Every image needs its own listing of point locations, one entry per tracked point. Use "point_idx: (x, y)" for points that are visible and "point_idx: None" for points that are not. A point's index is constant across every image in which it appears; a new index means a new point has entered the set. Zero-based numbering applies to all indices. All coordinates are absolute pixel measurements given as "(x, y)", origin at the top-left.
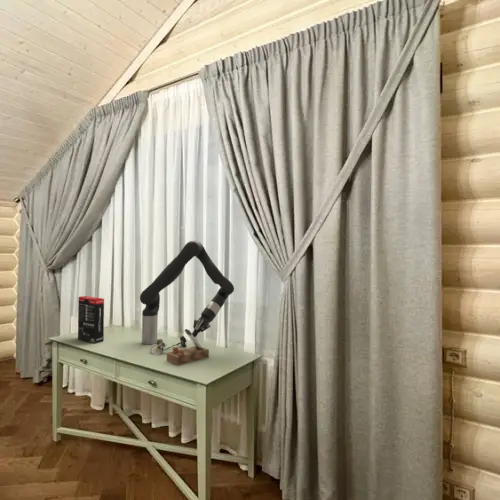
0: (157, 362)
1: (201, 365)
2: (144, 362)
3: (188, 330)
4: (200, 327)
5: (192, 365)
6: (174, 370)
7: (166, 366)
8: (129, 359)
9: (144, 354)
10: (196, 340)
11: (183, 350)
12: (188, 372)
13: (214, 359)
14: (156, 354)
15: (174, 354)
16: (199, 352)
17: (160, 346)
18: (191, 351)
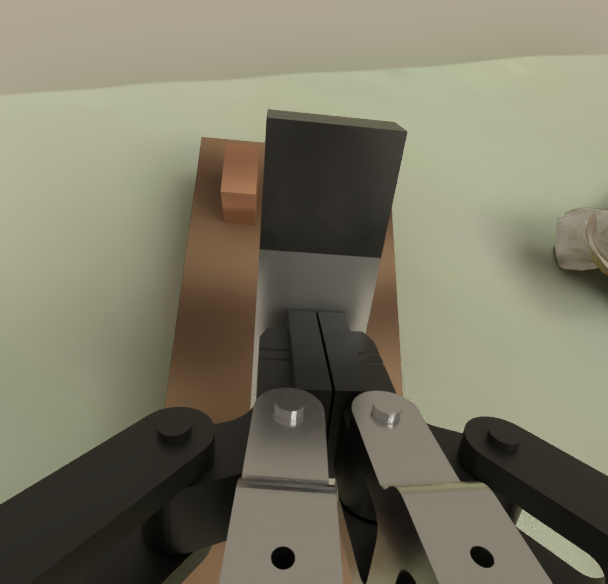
0: None
1: (29, 316)
2: (430, 85)
3: (272, 114)
4: (175, 466)
5: (103, 261)
6: (134, 112)
7: (250, 125)
8: (544, 63)
9: (603, 171)
10: (251, 404)
11: (222, 191)
12: (9, 147)
13: None
14: (558, 227)
15: None
16: (167, 407)
17: (594, 211)
18: (253, 344)
